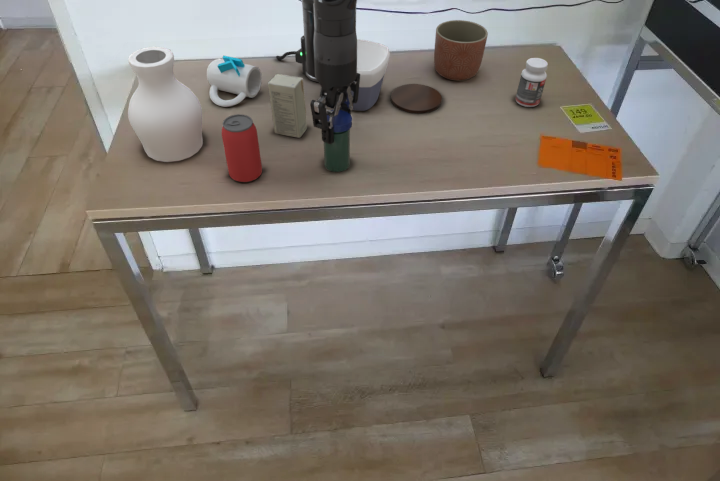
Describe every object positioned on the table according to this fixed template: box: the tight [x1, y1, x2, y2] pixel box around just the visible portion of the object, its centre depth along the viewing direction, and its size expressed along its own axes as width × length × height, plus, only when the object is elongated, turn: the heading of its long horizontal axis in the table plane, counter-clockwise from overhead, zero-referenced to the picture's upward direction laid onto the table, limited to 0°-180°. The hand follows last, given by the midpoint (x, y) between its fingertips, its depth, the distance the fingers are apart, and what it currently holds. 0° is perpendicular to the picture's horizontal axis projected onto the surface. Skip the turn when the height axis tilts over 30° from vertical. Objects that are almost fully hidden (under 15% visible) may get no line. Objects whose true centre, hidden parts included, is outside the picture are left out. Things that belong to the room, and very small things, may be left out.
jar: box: [323, 128, 351, 173], centre depth 111 cm, size 5×5×10 cm
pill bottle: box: [515, 57, 548, 108], centre depth 130 cm, size 6×6×10 cm
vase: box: [127, 46, 204, 163], centre depth 112 cm, size 14×14×20 cm
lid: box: [327, 109, 353, 132], centre depth 107 cm, size 6×6×2 cm
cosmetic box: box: [267, 73, 308, 139], centre depth 119 cm, size 6×4×12 cm
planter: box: [433, 19, 489, 81], centre depth 139 cm, size 12×12×11 cm
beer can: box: [221, 113, 263, 183], centre depth 108 cm, size 7×7×12 cm
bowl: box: [339, 38, 391, 112], centre depth 129 cm, size 15×15×11 cm
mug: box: [206, 55, 263, 108], centre depth 130 cm, size 12×9×12 cm
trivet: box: [390, 83, 443, 114], centre depth 133 cm, size 12×12×1 cm
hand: (336, 133), depth 110 cm, fingers closed on lid, 6 cm apart
